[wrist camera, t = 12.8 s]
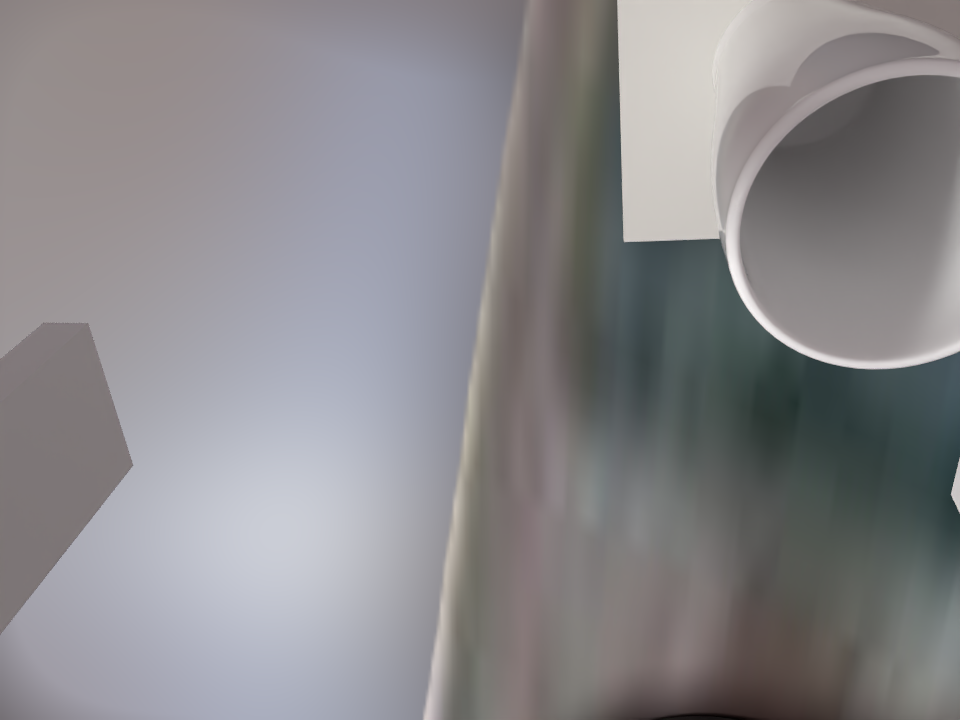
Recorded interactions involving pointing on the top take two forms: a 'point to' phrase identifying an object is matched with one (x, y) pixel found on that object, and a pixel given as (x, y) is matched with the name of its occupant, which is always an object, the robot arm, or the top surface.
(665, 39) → the rubber mat
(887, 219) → the white cup
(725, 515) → the top surface
